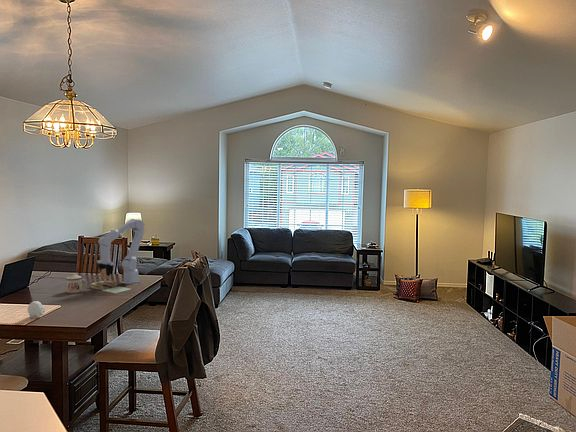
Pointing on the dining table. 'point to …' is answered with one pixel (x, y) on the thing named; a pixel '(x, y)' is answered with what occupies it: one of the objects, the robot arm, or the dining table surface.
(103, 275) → the terracotta jug
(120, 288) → the felt mat
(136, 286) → the dining table surface
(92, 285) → the frame
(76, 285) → the teacup with lid
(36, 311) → the white lumpy piece
